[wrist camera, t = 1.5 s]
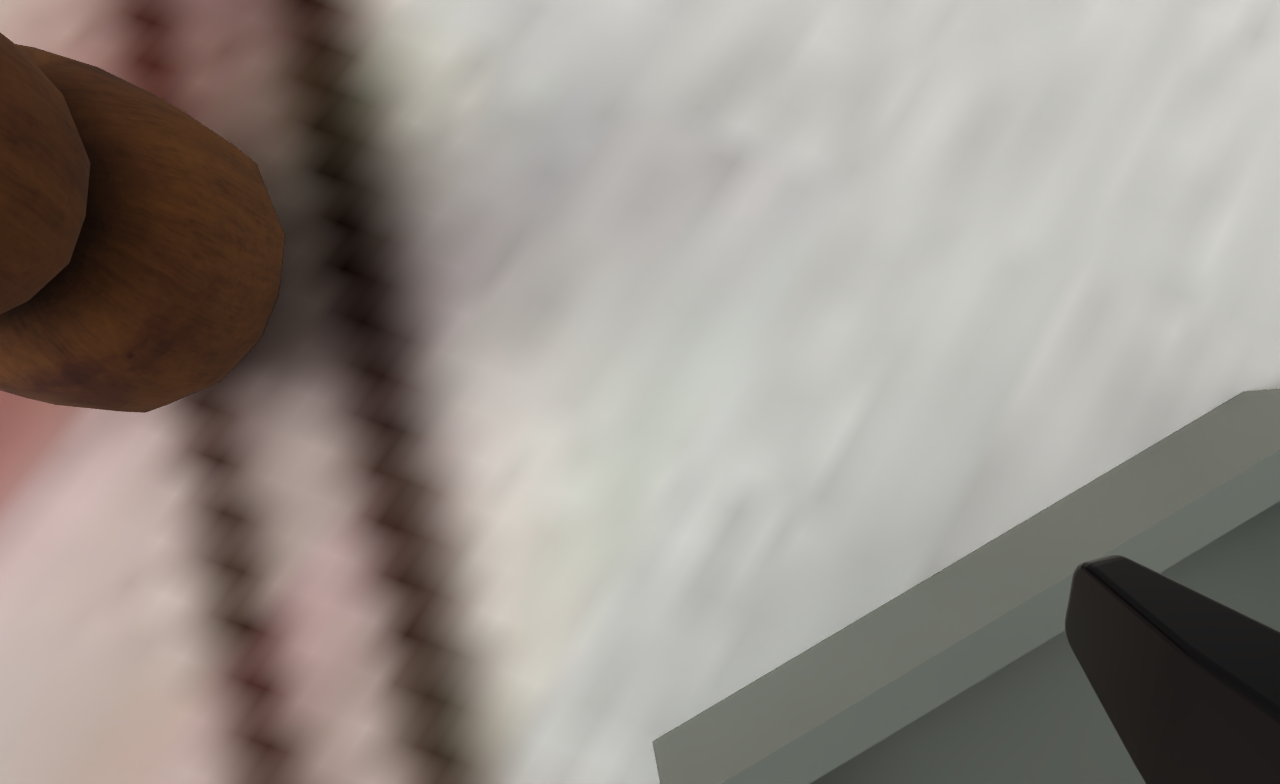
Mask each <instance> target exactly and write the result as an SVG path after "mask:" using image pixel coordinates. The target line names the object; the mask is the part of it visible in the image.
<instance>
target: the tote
mask: <svg viewBox="0 0 1280 784" xmlns="http://www.w3.org/2000/svg"><path fill="white" fill-rule="evenodd" d="M1108 555H1121V556H1124V557H1127V558H1129V559H1131V560H1133V561H1136V562H1138V563H1140V564H1142V565H1144V566H1146V567H1148V568H1150V569H1152V570H1154V571H1156V572H1158V573H1160V574H1162V575H1164V576H1166V577H1168V578H1171V579H1173V580H1175V581H1177V582H1179V583H1181V584H1183V585H1185V586H1187V587H1189V588H1191V589H1193V590H1195V591H1197V592H1199V593H1201V594H1203V595H1205V596H1208V597H1210V598H1212V599H1214V600H1216V601H1218V602H1220V603H1222V604H1224V605H1226V606H1228V607H1230V608H1232V609H1234V610H1236V611H1238V612H1240V613H1242V614H1245V615H1247V616H1249V617H1251V618H1253V619H1255V620H1257V621H1259V622H1261V623H1263V624H1265V625H1267V626H1269V627H1271V628H1273V629H1275V630H1277V631H1280V389H1272V390H1259V391H1246V392H1242V393H1240V394H1239V395H1237V396H1235V397H1234V398H1232V399H1230V400H1229V401H1227V402H1225V403H1224V404H1222V405H1220V406H1219V407H1217V408H1215V409H1213V410H1212V411H1210V412H1208V413H1207V414H1205V415H1203V416H1202V417H1200V418H1198V419H1197V420H1195V421H1193V422H1192V423H1190V424H1188V425H1186V426H1185V427H1183V428H1181V429H1180V430H1178V431H1176V432H1175V433H1173V434H1171V435H1170V436H1168V437H1166V438H1165V439H1163V440H1161V441H1159V442H1158V443H1156V444H1154V445H1153V446H1151V447H1149V448H1148V449H1146V450H1144V451H1143V452H1141V453H1139V454H1138V455H1136V456H1134V457H1132V458H1131V459H1129V460H1127V461H1126V462H1124V463H1122V464H1121V465H1119V466H1117V467H1116V468H1114V469H1112V470H1110V471H1109V472H1107V473H1105V474H1104V475H1102V476H1100V477H1099V478H1097V479H1095V480H1094V481H1092V482H1090V483H1089V484H1087V485H1085V486H1083V487H1082V488H1080V489H1078V490H1077V491H1075V492H1073V493H1072V494H1070V495H1068V496H1067V497H1065V498H1063V499H1062V500H1060V501H1058V502H1056V503H1055V504H1053V505H1051V506H1050V507H1048V508H1046V509H1045V510H1043V511H1041V512H1040V513H1038V514H1036V515H1035V516H1033V517H1031V518H1029V519H1028V520H1026V521H1024V522H1023V523H1021V524H1019V525H1018V526H1016V527H1014V528H1013V529H1011V530H1009V531H1008V532H1006V533H1004V534H1002V535H1001V536H999V537H997V538H996V539H994V540H992V541H991V542H989V543H987V544H986V545H984V546H982V547H981V548H979V549H977V550H975V551H974V552H972V553H970V554H969V555H967V556H965V557H964V558H962V559H960V560H959V561H957V562H955V563H954V564H952V565H950V566H948V567H947V568H945V569H943V570H942V571H940V572H938V573H937V574H935V575H933V576H932V577H930V578H928V579H926V580H925V581H923V582H921V583H920V584H918V585H916V586H915V587H913V588H911V589H910V590H908V591H906V592H905V593H903V594H901V595H899V596H898V597H896V598H894V599H893V600H891V601H889V602H888V603H886V604H884V605H883V606H881V607H879V608H878V609H876V610H874V611H872V612H871V613H869V614H867V615H866V616H864V617H862V618H861V619H859V620H857V621H856V622H854V623H852V624H851V625H849V626H847V627H845V628H844V629H842V630H840V631H839V632H837V633H835V634H834V635H832V636H830V637H829V638H827V639H825V640H824V641H822V642H820V643H818V644H817V645H815V646H813V647H812V648H810V649H808V650H807V651H805V652H803V653H802V654H800V655H798V656H797V657H795V658H793V659H791V660H790V661H788V662H786V663H785V664H783V665H781V666H780V667H778V668H776V669H775V670H773V671H771V672H770V673H768V674H766V675H764V676H763V677H761V678H759V679H758V680H756V681H754V682H753V683H751V684H749V685H748V686H746V687H744V688H743V689H741V690H739V691H737V692H736V693H734V694H732V695H731V696H729V697H727V698H726V699H724V700H722V701H721V702H719V703H717V704H715V705H714V706H712V707H710V708H709V709H707V710H705V711H704V712H702V713H700V714H699V715H697V716H695V717H694V718H692V719H690V720H688V721H687V722H685V723H683V724H682V725H680V726H678V727H677V728H675V729H673V730H672V731H670V732H668V733H667V734H665V735H663V736H661V737H660V738H658V739H656V740H655V741H653V746H654V752H655V757H656V763H657V768H658V774H659V779H660V784H1146V783H1145V781H1144V780H1143V778H1142V776H1141V775H1140V773H1139V771H1138V769H1137V768H1136V766H1135V764H1134V762H1133V761H1132V759H1131V757H1130V755H1129V753H1128V751H1127V750H1126V748H1125V746H1124V744H1123V742H1122V741H1121V739H1120V737H1119V735H1118V733H1117V731H1116V730H1115V728H1114V726H1113V724H1112V722H1111V720H1110V719H1109V717H1108V715H1107V713H1106V711H1105V709H1104V708H1103V706H1102V704H1101V702H1100V700H1099V698H1098V697H1097V695H1096V693H1095V691H1094V689H1093V687H1092V686H1091V684H1090V682H1089V680H1088V678H1087V676H1086V675H1085V673H1084V671H1083V669H1082V667H1081V665H1080V664H1079V662H1078V660H1077V658H1076V656H1075V654H1074V653H1073V651H1072V649H1071V647H1070V645H1069V642H1068V640H1067V636H1066V632H1065V616H1066V610H1067V604H1068V599H1069V593H1070V587H1071V582H1072V576H1073V572H1074V570H1075V568H1076V567H1077V566H1078V565H1079V564H1080V563H1082V562H1085V561H1089V560H1093V559H1097V558H1100V557H1104V556H1108Z"/></svg>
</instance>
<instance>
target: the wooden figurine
mask: <svg viewBox="0 0 1280 784" xmlns="http://www.w3.org/2000/svg"><path fill="white" fill-rule="evenodd" d="M284 243H285V235H284V233H283V230H282V228H281V225H280V222H279V220H278V217H277V215H276V212H275V210H274V207H273V204H272V202H271V199H270V197H269V194H268V192H267V189H266V186H265V184H264V181H263V179H262V176H261V174H260V171H259V169H258V166H257V164H256V163H255V162H254V161H252V160H251V159H250V158H249V157H248V156H246V155H245V154H244V153H243V152H242V151H240V150H239V149H238V148H237V147H235V146H234V145H232V144H231V143H229V142H228V141H226V140H225V139H223V138H222V137H220V136H219V135H217V134H216V133H214V132H213V131H212V130H210V129H209V128H207V127H206V126H204V125H203V124H201V123H200V122H198V121H197V120H195V119H194V118H192V117H191V116H189V115H188V114H186V113H185V112H183V111H182V110H180V109H178V108H177V107H175V106H173V105H171V104H170V103H168V102H166V101H164V100H163V99H161V98H159V97H157V96H156V95H154V94H152V93H149V92H147V91H145V90H143V89H141V88H139V87H137V86H135V85H133V84H131V83H129V82H127V81H125V80H123V79H121V78H119V77H117V76H115V75H113V74H110V73H108V72H106V71H104V70H102V69H100V68H98V67H95V66H92V65H89V64H86V63H82V62H79V61H76V60H73V59H70V58H66V57H63V56H60V55H57V54H53V53H50V52H47V51H44V50H41V49H37V48H34V47H28V46H23V45H17V44H14V43H13V42H12V41H10V40H9V39H8V38H7V37H5V36H4V35H3V34H1V33H0V390H1V391H5V392H8V393H12V394H15V395H19V396H22V397H25V398H29V399H34V400H38V401H42V402H46V403H51V404H55V405H64V406H74V407H84V408H94V409H103V410H113V411H125V412H148V411H151V410H153V409H156V408H159V407H162V406H165V405H167V404H170V403H172V402H174V401H176V400H179V399H181V398H183V397H186V396H188V395H190V394H193V393H195V392H197V391H200V390H202V389H204V388H206V387H209V386H211V385H213V384H216V383H218V382H220V381H221V380H222V379H223V378H224V377H225V376H226V375H227V374H228V373H229V372H230V371H231V370H232V369H233V368H234V367H235V366H236V365H237V363H238V362H239V361H240V360H241V359H242V358H243V357H244V356H245V355H246V354H247V353H248V352H249V351H250V349H251V348H252V347H253V346H254V345H255V344H256V343H257V342H258V341H259V340H260V339H261V337H262V335H263V332H264V330H265V327H266V325H267V322H268V320H269V317H270V315H271V312H272V310H273V307H274V305H275V302H276V300H277V297H278V295H279V288H280V279H281V270H282V261H283V252H284Z"/></svg>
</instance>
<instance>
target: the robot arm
mask: <svg viewBox="0 0 1280 784" xmlns="http://www.w3.org/2000/svg"><path fill="white" fill-rule="evenodd" d="M1065 632H1066V636H1067V640H1068V642H1069V645H1070V647H1071V649H1072V651H1073V653H1074V654H1075V656H1076V658H1077V660H1078V662H1079V664H1080V665H1081V667H1082V669H1083V671H1084V673H1085V675H1086V676H1087V678H1088V680H1089V682H1090V684H1091V686H1092V687H1093V689H1094V691H1095V693H1096V695H1097V697H1098V698H1099V700H1100V702H1101V704H1102V706H1103V708H1104V709H1105V711H1106V713H1107V715H1108V717H1109V719H1110V720H1111V722H1112V724H1113V726H1114V728H1115V730H1116V731H1117V733H1118V735H1119V737H1120V739H1121V741H1122V742H1123V744H1124V746H1125V748H1126V750H1127V751H1128V753H1129V755H1130V757H1131V759H1132V761H1133V762H1134V764H1135V766H1136V768H1137V769H1138V771H1139V773H1140V775H1141V776H1142V778H1143V780H1144V781H1145V783H1146V784H1280V631H1277V630H1275V629H1273V628H1271V627H1269V626H1267V625H1265V624H1263V623H1261V622H1259V621H1257V620H1255V619H1253V618H1251V617H1249V616H1247V615H1245V614H1242V613H1240V612H1238V611H1236V610H1234V609H1232V608H1230V607H1228V606H1226V605H1224V604H1222V603H1220V602H1218V601H1216V600H1214V599H1212V598H1210V597H1208V596H1205V595H1203V594H1201V593H1199V592H1197V591H1195V590H1193V589H1191V588H1189V587H1187V586H1185V585H1183V584H1181V583H1179V582H1177V581H1175V580H1173V579H1171V578H1168V577H1166V576H1164V575H1162V574H1160V573H1158V572H1156V571H1154V570H1152V569H1150V568H1148V567H1146V566H1144V565H1142V564H1140V563H1138V562H1136V561H1133V560H1131V559H1129V558H1127V557H1124V556H1121V555H1108V556H1104V557H1100V558H1097V559H1093V560H1089V561H1085V562H1082V563H1080V564H1079V565H1078V566H1077V567H1076V568H1075V570H1074V572H1073V576H1072V582H1071V587H1070V593H1069V599H1068V604H1067V610H1066V616H1065Z"/></svg>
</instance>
